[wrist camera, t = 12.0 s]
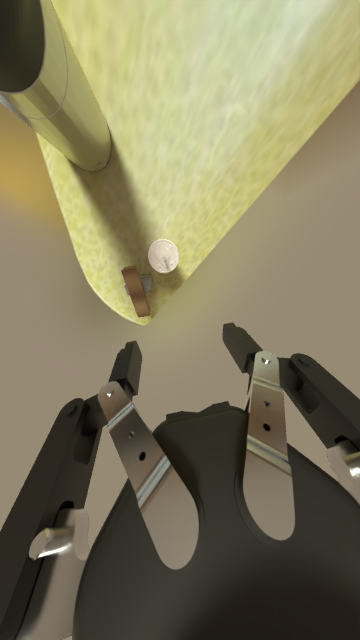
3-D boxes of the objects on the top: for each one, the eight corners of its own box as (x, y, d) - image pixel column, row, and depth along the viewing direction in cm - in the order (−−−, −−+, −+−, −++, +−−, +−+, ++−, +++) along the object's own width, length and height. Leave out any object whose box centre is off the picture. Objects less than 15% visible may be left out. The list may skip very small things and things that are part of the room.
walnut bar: (124, 267, 31) (121, 270, 28) (137, 265, 31) (135, 268, 28) (139, 310, 38) (138, 317, 35) (150, 309, 38) (149, 315, 35)
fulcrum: (125, 278, 37) (121, 284, 33) (150, 274, 37) (149, 279, 33) (130, 290, 39) (126, 297, 35) (153, 286, 39) (153, 292, 35)
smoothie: (171, 234, 33) (179, 235, 21) (176, 261, 36) (185, 275, 25) (146, 240, 33) (140, 244, 21) (154, 267, 36) (152, 283, 25)
